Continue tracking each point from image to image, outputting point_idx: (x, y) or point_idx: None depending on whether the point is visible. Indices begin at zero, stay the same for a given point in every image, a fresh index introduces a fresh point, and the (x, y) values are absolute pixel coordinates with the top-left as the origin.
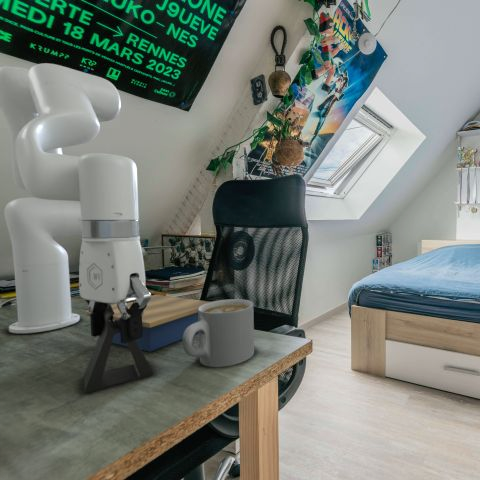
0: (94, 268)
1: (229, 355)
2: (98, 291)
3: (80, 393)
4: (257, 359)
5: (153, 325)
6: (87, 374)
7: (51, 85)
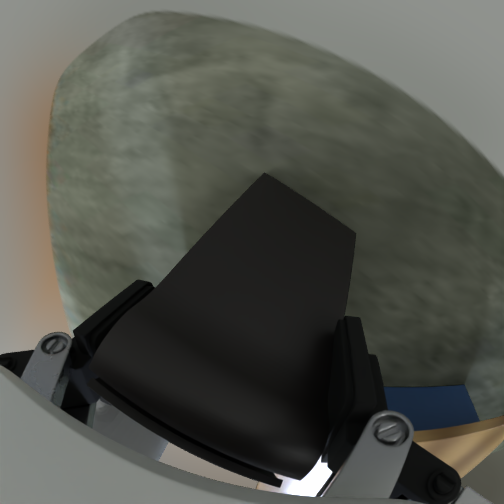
0: None
1: None
2: (29, 500)
3: (282, 171)
4: None
5: None
6: (312, 217)
7: None
